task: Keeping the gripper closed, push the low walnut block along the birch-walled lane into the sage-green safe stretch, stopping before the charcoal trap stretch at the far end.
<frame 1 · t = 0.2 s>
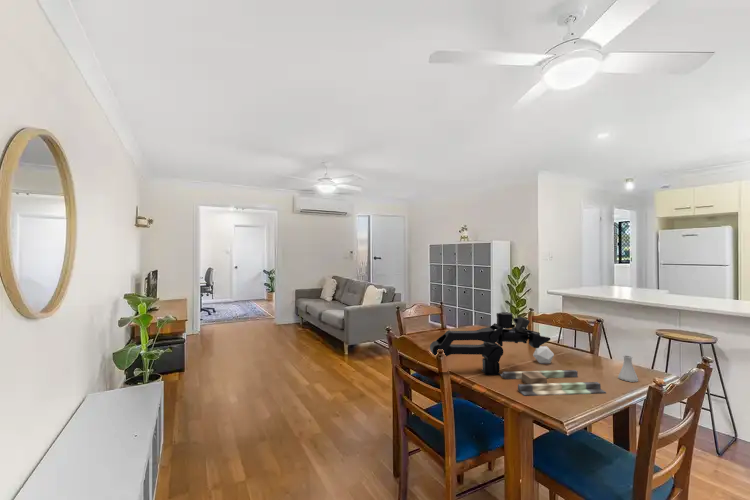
hand: (544, 336, 157), 16 cm above the table, tool horizontal, fingers open, 9 cm apart
flask: (627, 379, 148), on the table
walnut block: (534, 384, 143), on the table
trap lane: (549, 383, 143), on the table
die: (543, 363, 170), on the table
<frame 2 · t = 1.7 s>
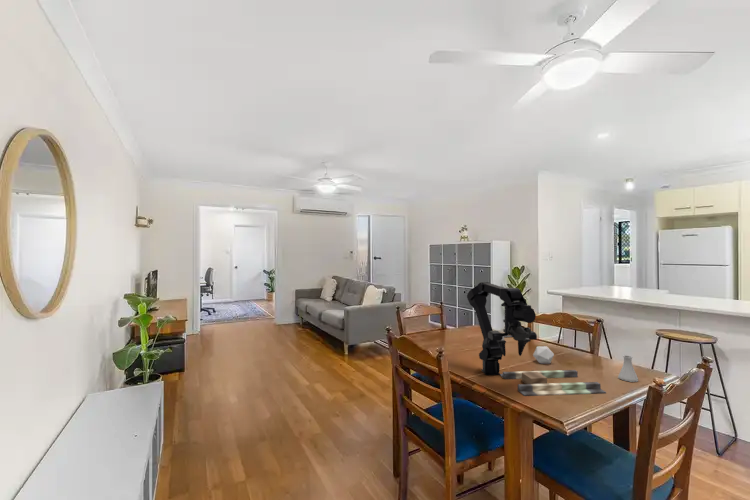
hand: (512, 355, 142), 12 cm above the table, tool pointing down, fingers open, 6 cm apart
nothing on the table moved.
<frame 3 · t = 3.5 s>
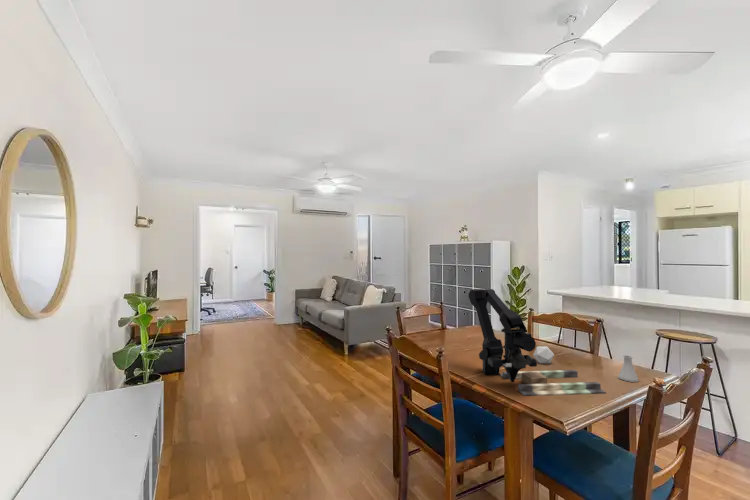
hand: (512, 382, 142), 1 cm above the table, tool pointing down, fingers closed
nothing on the table moved.
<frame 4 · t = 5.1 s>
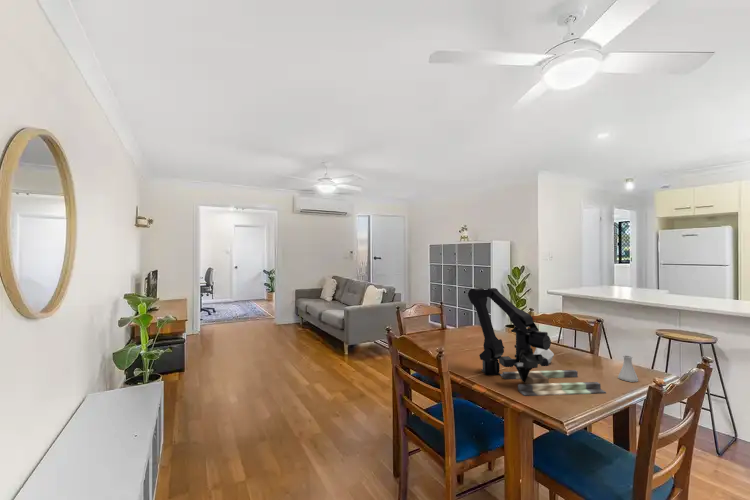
hand: (523, 381, 142), 1 cm above the table, tool pointing down, fingers closed
nothing on the table moved.
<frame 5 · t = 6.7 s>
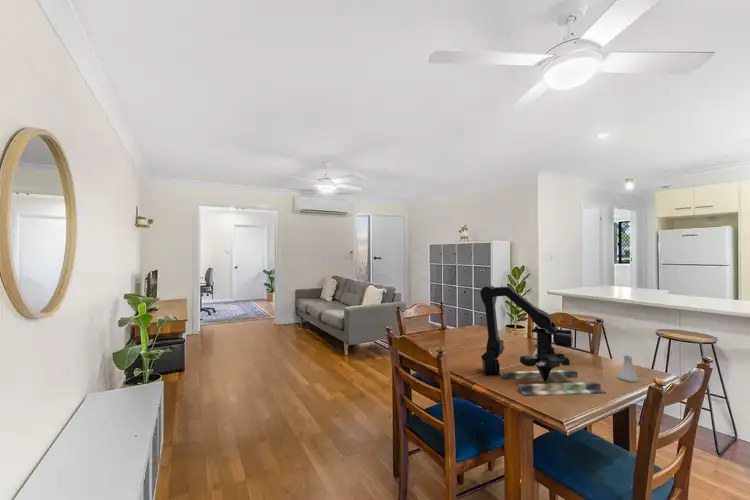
hand: (544, 381, 143), 1 cm above the table, tool pointing down, fingers closed
walnut block: (558, 386, 141), on the table
everything else where it was.
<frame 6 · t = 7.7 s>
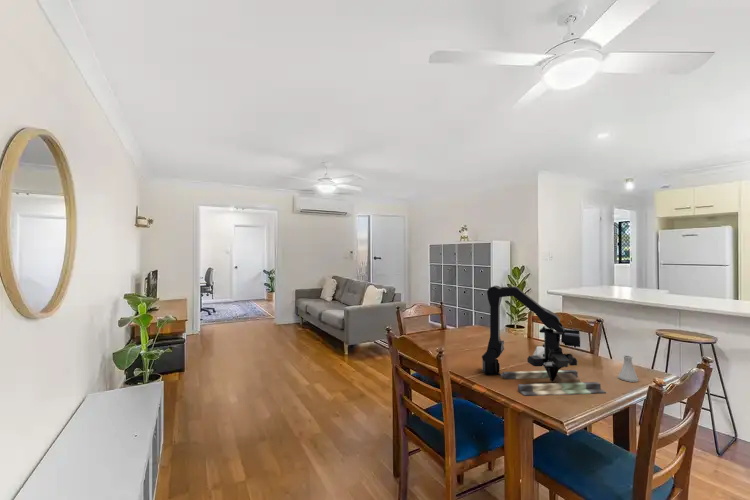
hand: (552, 380, 143), 1 cm above the table, tool pointing down, fingers closed
walnut block: (566, 385, 142), on the table, touching gripper
everything else where it was.
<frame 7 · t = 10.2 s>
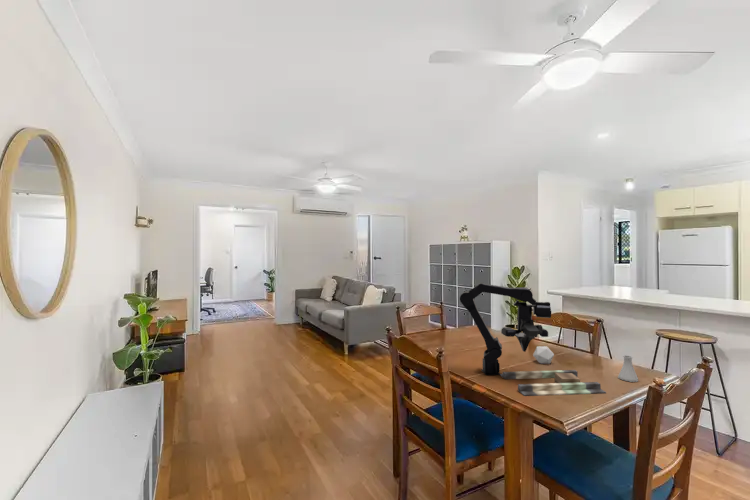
hand: (524, 351, 151), 11 cm above the table, tool pointing down, fingers closed
walnut block: (567, 385, 142), on the table
everything else where it was.
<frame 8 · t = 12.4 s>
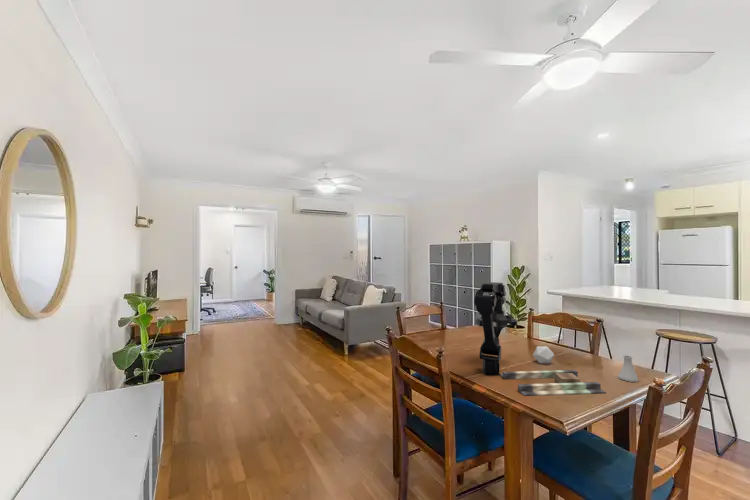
hand: (496, 339, 169), 12 cm above the table, tool pointing down, fingers closed
nothing on the table moved.
at the end: walnut block inside the target area (2.1 cm from its centre), on the table; walnut block tilted 0° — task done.
